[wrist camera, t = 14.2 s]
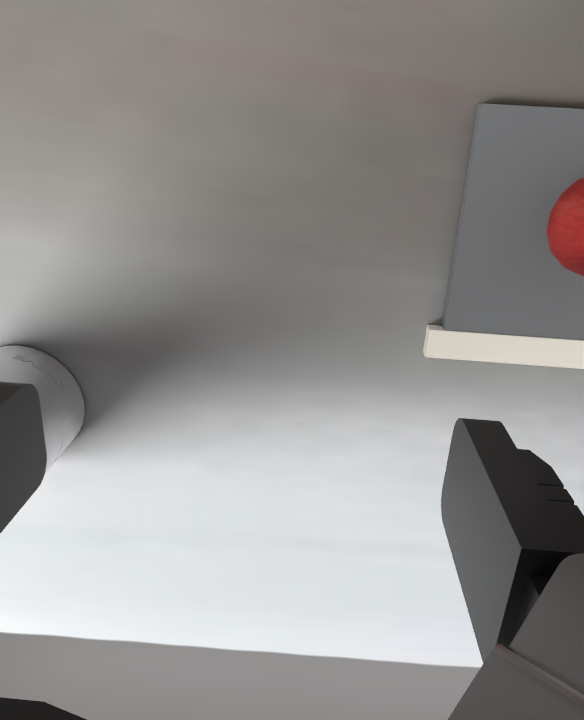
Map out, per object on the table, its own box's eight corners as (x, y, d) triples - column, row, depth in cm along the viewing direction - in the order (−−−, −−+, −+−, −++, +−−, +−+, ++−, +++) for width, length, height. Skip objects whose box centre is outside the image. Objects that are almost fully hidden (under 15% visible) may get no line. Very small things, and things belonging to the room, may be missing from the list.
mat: (654, 368, 39) (662, 374, 38) (422, 351, 40) (425, 357, 38) (735, 118, 33) (748, 118, 32) (461, 103, 33) (465, 102, 32)
